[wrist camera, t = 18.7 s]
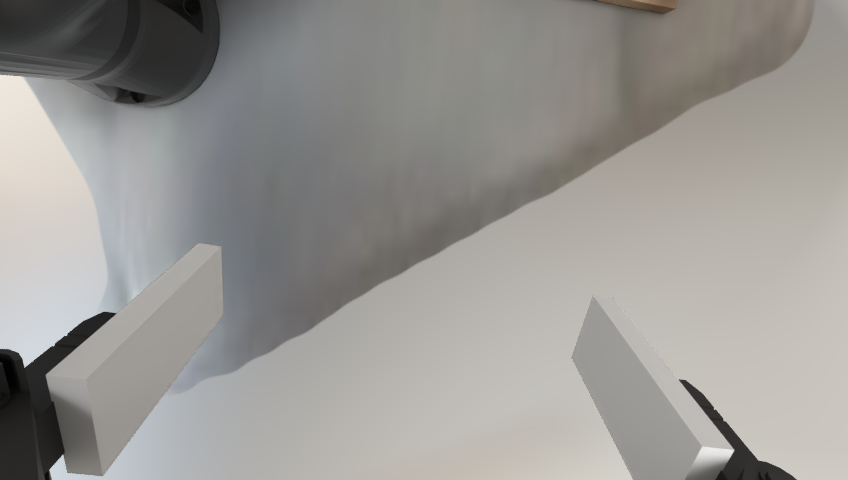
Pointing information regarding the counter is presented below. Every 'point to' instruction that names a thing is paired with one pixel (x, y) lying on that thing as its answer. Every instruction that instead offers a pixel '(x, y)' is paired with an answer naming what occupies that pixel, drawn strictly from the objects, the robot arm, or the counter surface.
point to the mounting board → (646, 4)
